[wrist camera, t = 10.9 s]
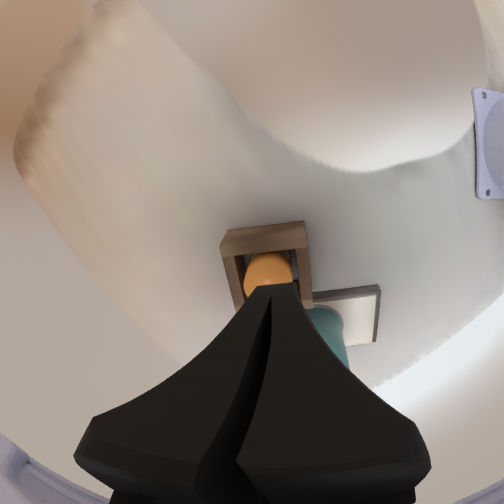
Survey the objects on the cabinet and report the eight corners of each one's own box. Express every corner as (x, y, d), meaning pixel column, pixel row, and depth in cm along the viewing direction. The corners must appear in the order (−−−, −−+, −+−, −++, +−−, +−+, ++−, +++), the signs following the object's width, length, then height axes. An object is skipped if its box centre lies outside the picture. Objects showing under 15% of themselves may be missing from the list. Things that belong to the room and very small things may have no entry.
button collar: (303, 220, 18) (306, 235, 16) (310, 287, 20) (313, 308, 18) (227, 230, 19) (219, 246, 16) (242, 293, 21) (236, 314, 19)
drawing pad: (378, 284, 19) (381, 293, 18) (373, 334, 21) (376, 343, 20) (243, 299, 21) (241, 308, 20) (255, 347, 23) (253, 356, 22)
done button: (289, 240, 18) (289, 262, 15) (294, 278, 19) (294, 304, 17) (246, 245, 19) (239, 268, 16) (253, 282, 20) (248, 308, 17)
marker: (341, 303, 19) (358, 381, 13) (341, 345, 21) (352, 419, 14) (283, 310, 20) (279, 389, 13) (289, 350, 21) (287, 426, 15)
